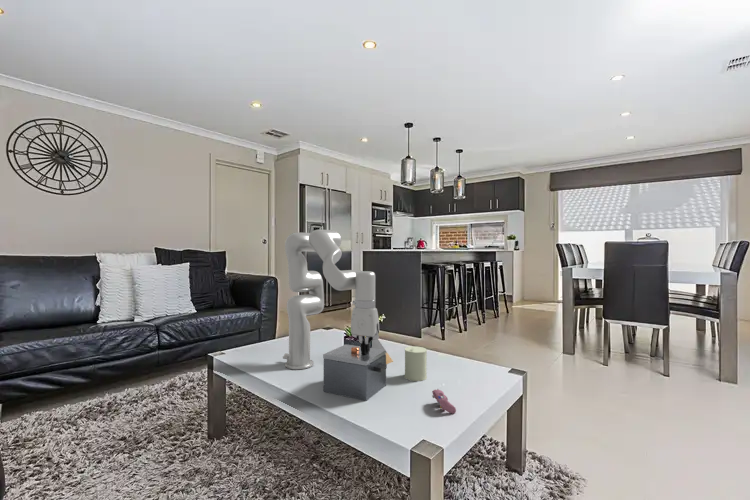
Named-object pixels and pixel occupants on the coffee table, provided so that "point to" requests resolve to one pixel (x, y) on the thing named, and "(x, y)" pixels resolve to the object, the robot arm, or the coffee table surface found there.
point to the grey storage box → (354, 378)
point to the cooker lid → (354, 355)
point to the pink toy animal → (443, 401)
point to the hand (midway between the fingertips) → (365, 353)
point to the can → (415, 363)
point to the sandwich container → (378, 345)
